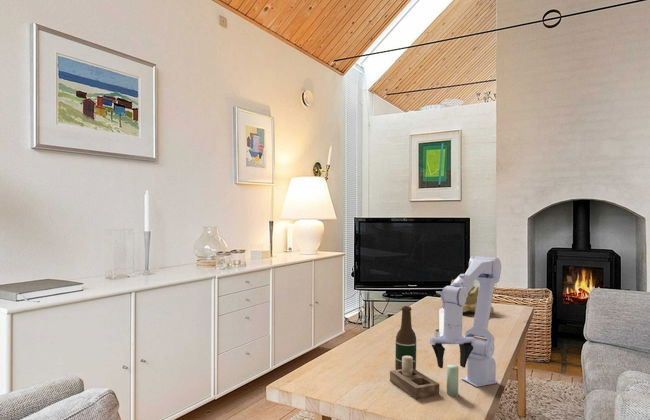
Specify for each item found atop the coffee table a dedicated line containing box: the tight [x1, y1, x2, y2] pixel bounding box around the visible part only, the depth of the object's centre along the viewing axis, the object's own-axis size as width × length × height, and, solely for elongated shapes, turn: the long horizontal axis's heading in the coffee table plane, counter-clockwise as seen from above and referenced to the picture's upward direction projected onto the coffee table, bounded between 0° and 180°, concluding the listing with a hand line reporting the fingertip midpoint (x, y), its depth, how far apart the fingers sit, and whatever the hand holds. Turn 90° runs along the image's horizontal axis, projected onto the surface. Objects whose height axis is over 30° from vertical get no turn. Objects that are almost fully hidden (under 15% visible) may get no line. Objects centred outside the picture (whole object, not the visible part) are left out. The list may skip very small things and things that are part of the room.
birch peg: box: [402, 356, 413, 377], centre depth 156 cm, size 4×4×9 cm
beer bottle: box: [394, 305, 417, 370], centre depth 167 cm, size 8×8×24 cm
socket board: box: [389, 369, 440, 400], centre depth 152 cm, size 9×16×4 cm, turn 23°
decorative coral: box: [450, 278, 495, 314], centre depth 261 cm, size 26×22×25 cm
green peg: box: [446, 364, 459, 397], centre depth 147 cm, size 4×4×9 cm
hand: (451, 366), depth 143 cm, fingers open, 7 cm apart
